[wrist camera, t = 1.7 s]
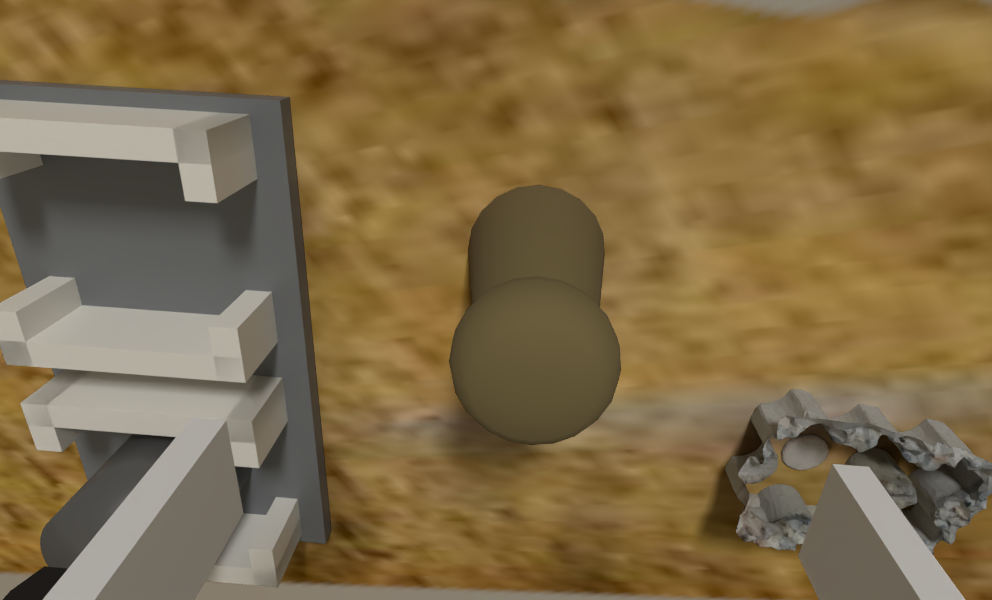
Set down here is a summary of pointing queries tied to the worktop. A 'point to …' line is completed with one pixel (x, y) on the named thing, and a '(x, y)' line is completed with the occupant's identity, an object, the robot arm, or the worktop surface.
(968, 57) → the worktop surface
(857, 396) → the worktop surface
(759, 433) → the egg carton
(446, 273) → the worktop surface
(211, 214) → the socket board
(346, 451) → the worktop surface
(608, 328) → the cork
